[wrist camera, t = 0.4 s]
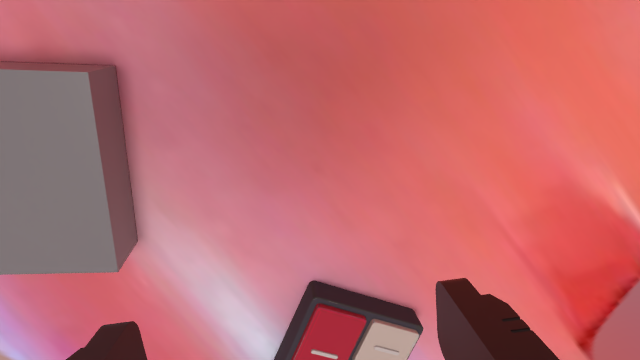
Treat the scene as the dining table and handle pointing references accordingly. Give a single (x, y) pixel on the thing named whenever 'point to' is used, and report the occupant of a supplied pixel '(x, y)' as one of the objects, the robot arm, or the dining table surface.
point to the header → (63, 170)
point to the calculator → (348, 327)
